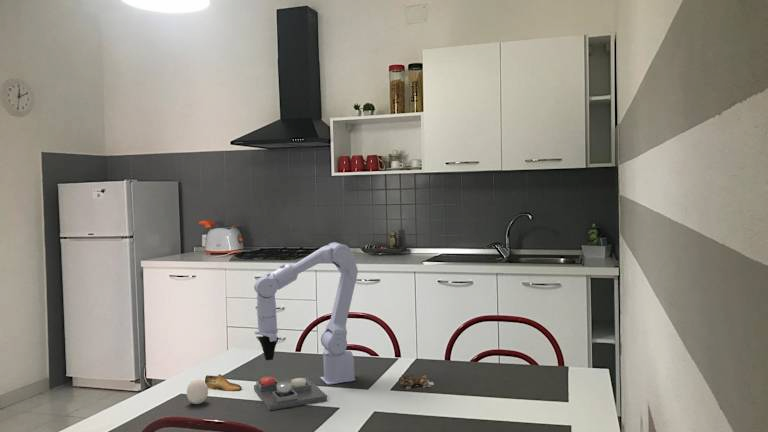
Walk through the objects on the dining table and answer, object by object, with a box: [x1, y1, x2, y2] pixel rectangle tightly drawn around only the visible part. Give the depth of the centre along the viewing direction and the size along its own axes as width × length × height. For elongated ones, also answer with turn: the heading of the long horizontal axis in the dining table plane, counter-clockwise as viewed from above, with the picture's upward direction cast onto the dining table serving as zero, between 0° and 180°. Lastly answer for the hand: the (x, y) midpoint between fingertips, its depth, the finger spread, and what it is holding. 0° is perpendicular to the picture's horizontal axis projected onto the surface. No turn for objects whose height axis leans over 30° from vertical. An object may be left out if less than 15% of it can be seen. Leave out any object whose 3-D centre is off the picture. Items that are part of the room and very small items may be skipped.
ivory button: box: [291, 377, 306, 387], centre depth 198 cm, size 4×4×2 cm
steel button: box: [277, 382, 292, 395], centre depth 189 cm, size 4×4×2 cm
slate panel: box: [253, 376, 328, 411], centre depth 197 cm, size 17×21×3 cm
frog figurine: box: [398, 374, 435, 390], centre depth 202 cm, size 12×12×4 cm
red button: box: [260, 376, 276, 386], centre depth 200 cm, size 4×4×2 cm
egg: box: [186, 377, 209, 405], centre depth 192 cm, size 6×6×8 cm
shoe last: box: [204, 373, 243, 392], centre depth 206 cm, size 4×14×5 cm, turn 64°
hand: (269, 359), depth 202 cm, fingers closed
